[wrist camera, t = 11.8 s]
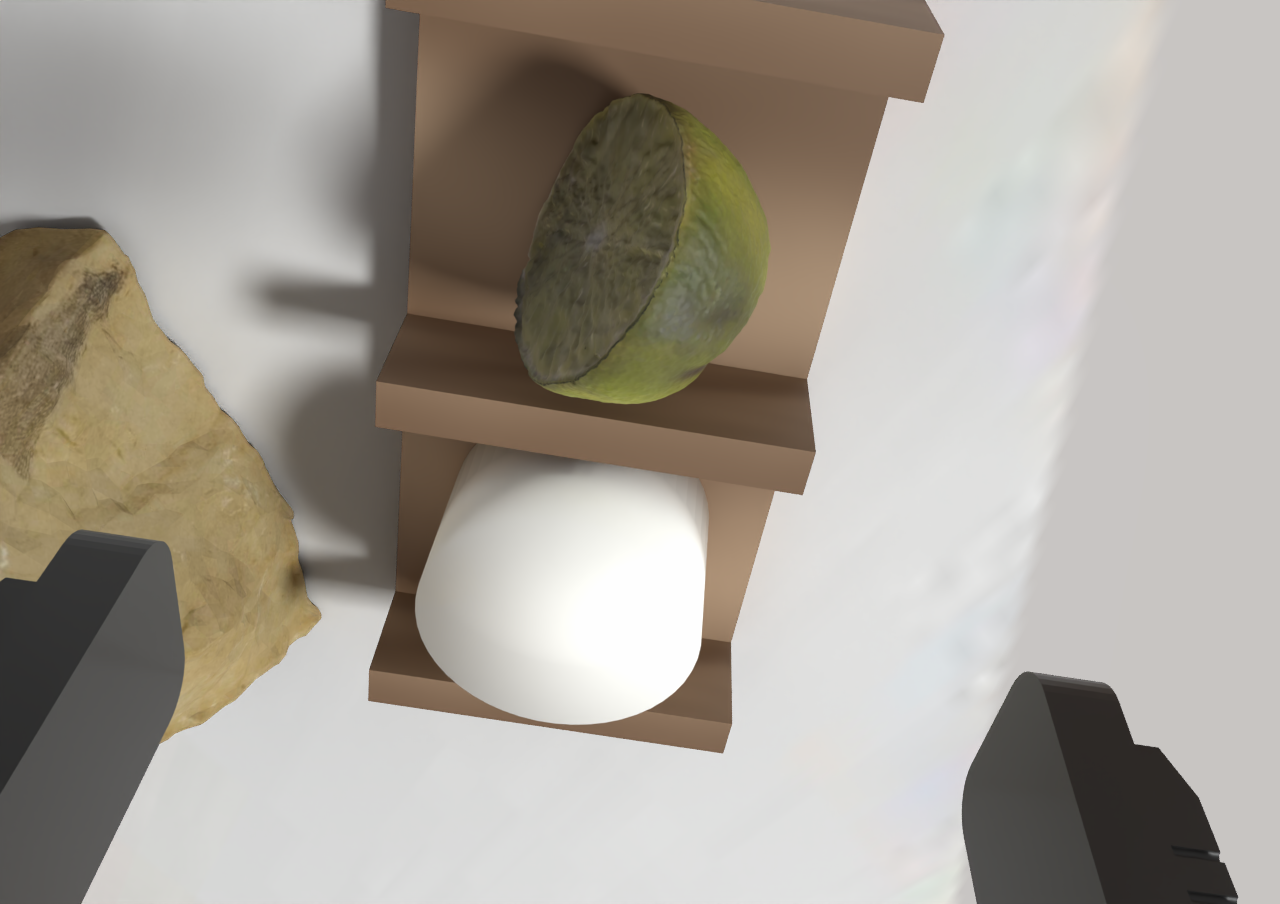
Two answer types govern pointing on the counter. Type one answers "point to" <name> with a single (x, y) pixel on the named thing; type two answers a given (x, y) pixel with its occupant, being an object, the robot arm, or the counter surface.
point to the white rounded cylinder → (566, 585)
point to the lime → (640, 258)
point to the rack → (498, 252)
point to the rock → (137, 460)
